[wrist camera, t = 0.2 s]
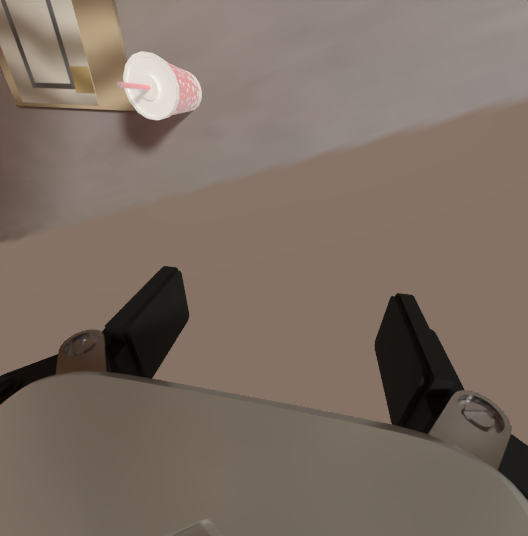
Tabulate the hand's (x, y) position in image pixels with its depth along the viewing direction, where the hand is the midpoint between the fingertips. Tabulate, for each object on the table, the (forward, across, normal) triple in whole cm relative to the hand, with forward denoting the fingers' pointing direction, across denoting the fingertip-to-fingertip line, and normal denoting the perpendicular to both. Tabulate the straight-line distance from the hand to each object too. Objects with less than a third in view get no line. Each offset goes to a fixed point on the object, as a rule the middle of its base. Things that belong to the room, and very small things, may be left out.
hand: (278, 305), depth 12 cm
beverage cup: (+31, +18, -9) cm, 37 cm away
